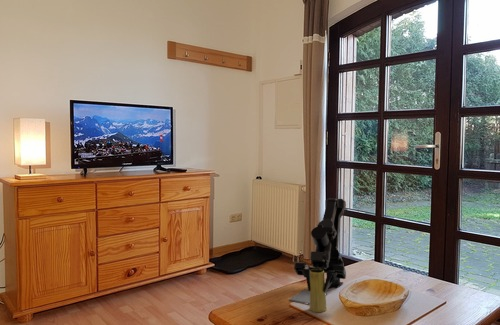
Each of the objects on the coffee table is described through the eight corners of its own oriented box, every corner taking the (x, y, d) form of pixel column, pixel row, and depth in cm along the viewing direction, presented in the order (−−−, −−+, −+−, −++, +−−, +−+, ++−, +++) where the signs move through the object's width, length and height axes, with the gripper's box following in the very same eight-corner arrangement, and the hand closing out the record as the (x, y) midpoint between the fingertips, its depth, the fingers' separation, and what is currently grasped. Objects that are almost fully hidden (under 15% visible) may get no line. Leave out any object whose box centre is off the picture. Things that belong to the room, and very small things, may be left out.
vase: (326, 313, 142) (325, 273, 141) (309, 312, 143) (307, 272, 143) (326, 306, 148) (325, 268, 147) (310, 305, 149) (308, 268, 149)
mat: (304, 290, 166) (304, 289, 166) (326, 294, 160) (326, 293, 160) (289, 300, 155) (289, 299, 155) (312, 305, 149) (312, 303, 149)
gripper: (294, 240, 152) (286, 278, 142) (343, 243, 145) (339, 282, 135) (300, 256, 160) (293, 292, 150) (347, 259, 152) (343, 297, 142)
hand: (316, 291), depth 144 cm, fingers closed on vase, 5 cm apart
